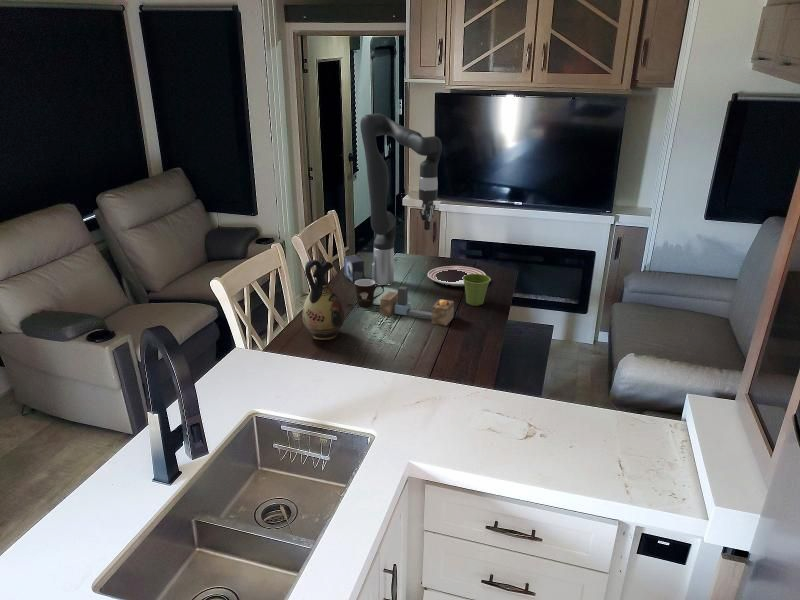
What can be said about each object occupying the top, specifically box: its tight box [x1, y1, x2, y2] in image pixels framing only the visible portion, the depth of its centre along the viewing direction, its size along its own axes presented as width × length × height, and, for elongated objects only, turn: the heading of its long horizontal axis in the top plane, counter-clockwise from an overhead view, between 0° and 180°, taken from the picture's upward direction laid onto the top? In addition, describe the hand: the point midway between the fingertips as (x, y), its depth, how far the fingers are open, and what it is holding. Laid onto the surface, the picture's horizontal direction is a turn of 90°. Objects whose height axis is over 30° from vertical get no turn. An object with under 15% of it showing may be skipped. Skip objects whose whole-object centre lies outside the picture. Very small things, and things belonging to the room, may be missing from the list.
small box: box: [343, 254, 365, 283], centre depth 277 cm, size 11×6×10 cm, turn 28°
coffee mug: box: [354, 278, 385, 308], centre depth 247 cm, size 12×9×10 cm
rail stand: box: [380, 291, 455, 326], centre depth 237 cm, size 28×9×7 cm, turn 68°
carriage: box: [395, 286, 412, 316], centre depth 238 cm, size 5×5×10 cm
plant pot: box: [462, 274, 492, 307], centre depth 249 cm, size 12×12×11 cm
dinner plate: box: [427, 265, 487, 287], centre depth 278 cm, size 28×27×3 cm
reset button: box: [439, 299, 448, 306], centre depth 232 cm, size 3×3×4 cm
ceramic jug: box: [302, 259, 345, 341], centre depth 215 cm, size 17×15×30 cm
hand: (427, 229), depth 244 cm, fingers closed
